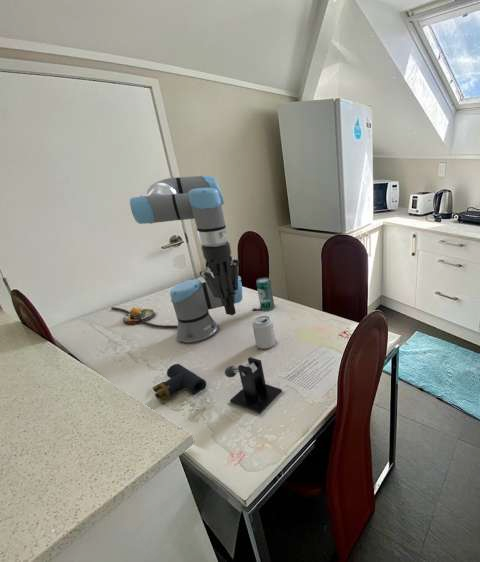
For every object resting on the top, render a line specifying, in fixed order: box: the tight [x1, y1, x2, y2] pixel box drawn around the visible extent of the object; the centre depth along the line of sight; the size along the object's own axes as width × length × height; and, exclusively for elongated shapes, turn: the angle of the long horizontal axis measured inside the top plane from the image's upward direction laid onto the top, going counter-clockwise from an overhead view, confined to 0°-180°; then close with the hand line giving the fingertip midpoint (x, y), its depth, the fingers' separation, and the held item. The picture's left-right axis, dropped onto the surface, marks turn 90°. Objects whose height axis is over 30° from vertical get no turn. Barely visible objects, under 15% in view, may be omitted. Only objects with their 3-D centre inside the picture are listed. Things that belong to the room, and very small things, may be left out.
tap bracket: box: [229, 356, 283, 415], centre depth 97 cm, size 12×10×14 cm
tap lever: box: [224, 362, 258, 378], centre depth 97 cm, size 13×4×4 cm, turn 65°
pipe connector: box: [152, 363, 207, 403], centre depth 102 cm, size 12×5×15 cm
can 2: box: [252, 315, 277, 350], centre depth 124 cm, size 8×8×12 cm
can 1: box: [255, 277, 275, 312], centre depth 152 cm, size 6×6×15 cm
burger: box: [122, 306, 155, 325], centre depth 146 cm, size 12×12×8 cm
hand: (231, 313), depth 100 cm, fingers closed
